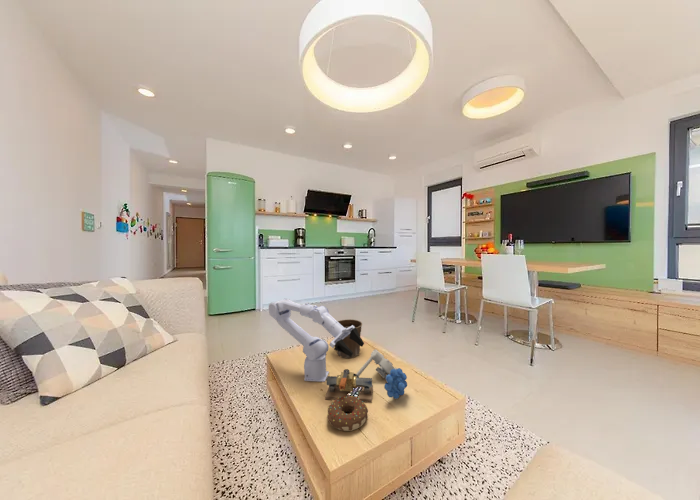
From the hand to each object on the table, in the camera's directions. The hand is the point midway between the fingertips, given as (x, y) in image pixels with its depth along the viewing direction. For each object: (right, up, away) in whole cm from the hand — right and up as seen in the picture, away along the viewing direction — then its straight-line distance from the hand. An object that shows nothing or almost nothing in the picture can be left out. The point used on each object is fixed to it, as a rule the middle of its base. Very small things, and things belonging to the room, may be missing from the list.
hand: (357, 349), depth 102 cm
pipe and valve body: (-3, -16, -1) cm, 16 cm away
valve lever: (-5, -10, -6) cm, 12 cm away
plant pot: (-4, -16, +34) cm, 38 cm away
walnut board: (-3, -17, -1) cm, 17 cm away
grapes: (+15, -17, -6) cm, 23 cm away
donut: (-4, -18, -15) cm, 24 cm away
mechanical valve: (+7, -17, +8) cm, 20 cm away
